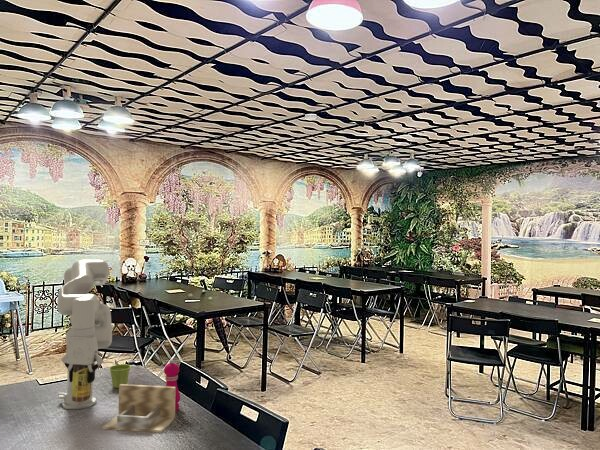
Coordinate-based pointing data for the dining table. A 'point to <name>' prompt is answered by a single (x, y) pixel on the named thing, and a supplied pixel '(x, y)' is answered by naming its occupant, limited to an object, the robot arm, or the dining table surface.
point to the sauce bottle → (80, 383)
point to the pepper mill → (172, 379)
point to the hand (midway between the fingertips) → (81, 380)
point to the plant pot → (119, 374)
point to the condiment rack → (144, 408)
